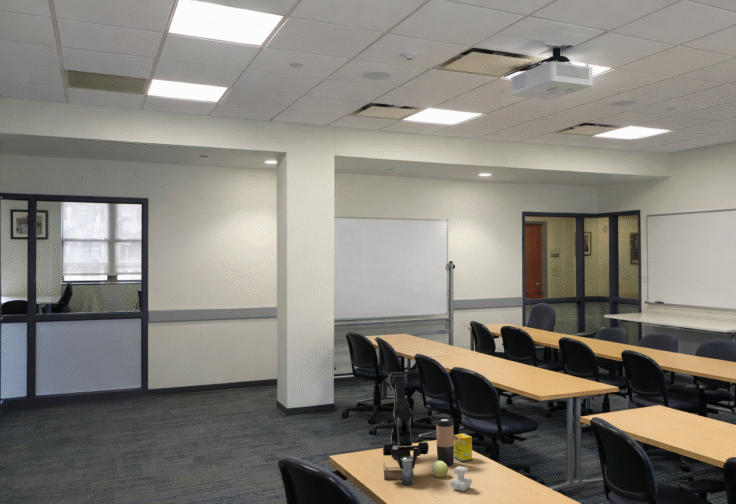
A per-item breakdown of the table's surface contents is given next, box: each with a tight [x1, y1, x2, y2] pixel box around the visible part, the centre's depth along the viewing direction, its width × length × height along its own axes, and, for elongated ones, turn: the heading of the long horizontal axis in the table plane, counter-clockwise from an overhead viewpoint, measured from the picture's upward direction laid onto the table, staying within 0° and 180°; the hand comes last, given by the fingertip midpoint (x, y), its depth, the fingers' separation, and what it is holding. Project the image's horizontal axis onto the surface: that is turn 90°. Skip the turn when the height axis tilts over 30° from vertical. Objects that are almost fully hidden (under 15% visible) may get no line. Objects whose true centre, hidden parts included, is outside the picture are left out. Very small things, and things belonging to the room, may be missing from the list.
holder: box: [382, 461, 402, 481], centre depth 253 cm, size 11×11×4 cm
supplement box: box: [454, 433, 473, 463], centre depth 270 cm, size 6×6×11 cm
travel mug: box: [435, 416, 455, 468], centre depth 264 cm, size 8×8×20 cm
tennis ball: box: [431, 460, 449, 478], centre depth 250 cm, size 6×7×7 cm
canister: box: [400, 455, 414, 487], centre depth 242 cm, size 5×5×10 cm
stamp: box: [449, 465, 473, 492], centre depth 235 cm, size 9×7×8 cm
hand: (407, 468), depth 241 cm, fingers closed on canister, 5 cm apart
